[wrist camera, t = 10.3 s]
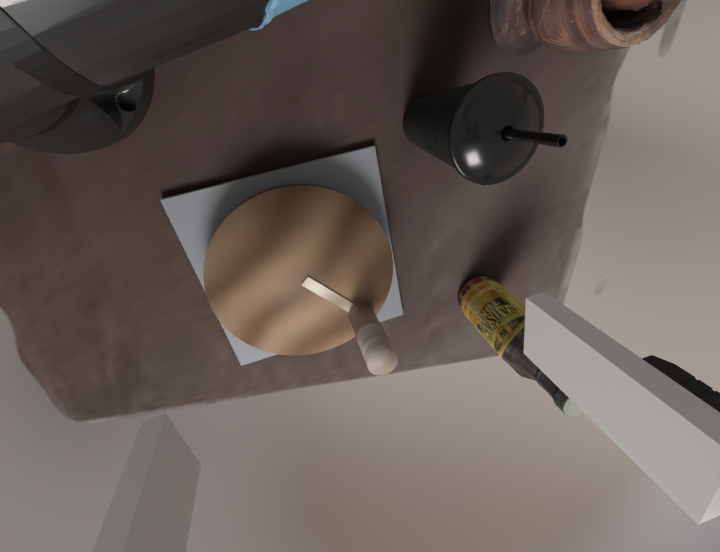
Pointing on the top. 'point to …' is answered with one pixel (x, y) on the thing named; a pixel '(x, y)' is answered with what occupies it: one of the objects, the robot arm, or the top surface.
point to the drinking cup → (482, 127)
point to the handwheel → (302, 274)
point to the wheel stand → (212, 204)
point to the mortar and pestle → (575, 23)
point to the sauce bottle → (507, 332)
